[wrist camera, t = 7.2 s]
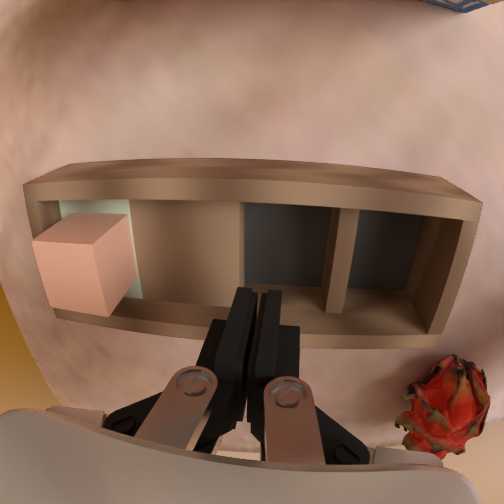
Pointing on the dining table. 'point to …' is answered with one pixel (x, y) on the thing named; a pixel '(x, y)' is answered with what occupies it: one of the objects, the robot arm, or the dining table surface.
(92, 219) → the terracotta block
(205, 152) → the dining table surface
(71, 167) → the box
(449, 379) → the dragon fruit
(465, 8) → the stack of blocks
